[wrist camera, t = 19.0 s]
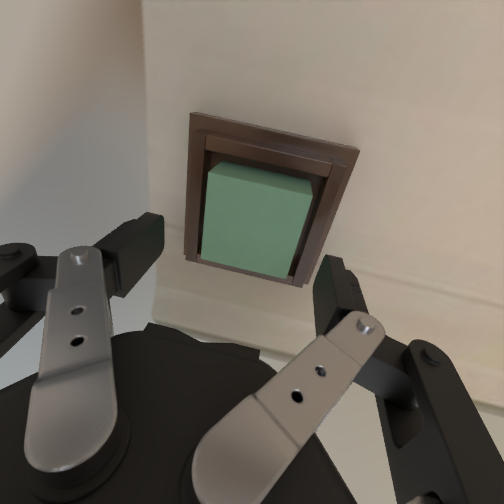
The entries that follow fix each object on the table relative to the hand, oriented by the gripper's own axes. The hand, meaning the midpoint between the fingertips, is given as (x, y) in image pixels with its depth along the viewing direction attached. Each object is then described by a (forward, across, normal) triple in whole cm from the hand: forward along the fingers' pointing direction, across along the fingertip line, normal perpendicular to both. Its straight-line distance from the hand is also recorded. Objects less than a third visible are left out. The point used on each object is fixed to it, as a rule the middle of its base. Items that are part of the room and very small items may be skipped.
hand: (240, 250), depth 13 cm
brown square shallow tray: (+6, 0, 0) cm, 6 cm away
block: (+5, 0, 0) cm, 5 cm away
